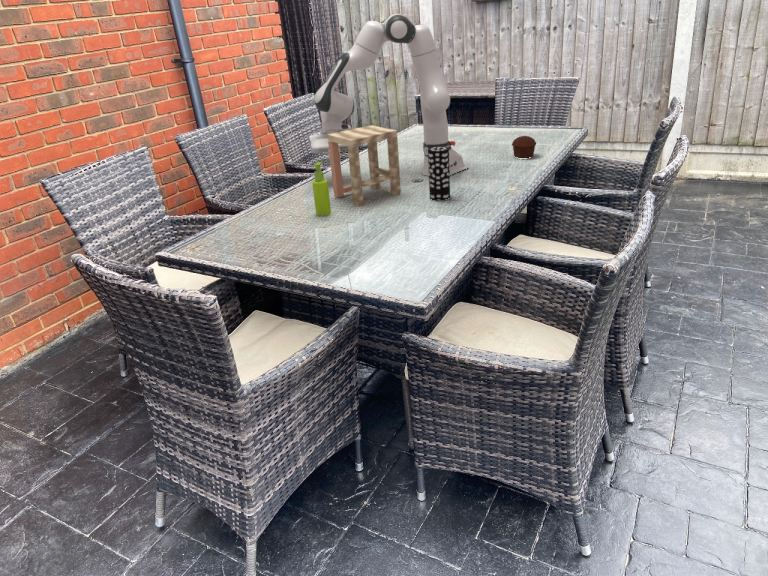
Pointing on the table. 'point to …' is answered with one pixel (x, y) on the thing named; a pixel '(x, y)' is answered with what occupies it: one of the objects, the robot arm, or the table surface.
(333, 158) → the hinged leg
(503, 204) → the table surface
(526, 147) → the muffin
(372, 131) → the stool
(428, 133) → the robot arm
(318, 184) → the soap dispenser
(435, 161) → the spotted tube
